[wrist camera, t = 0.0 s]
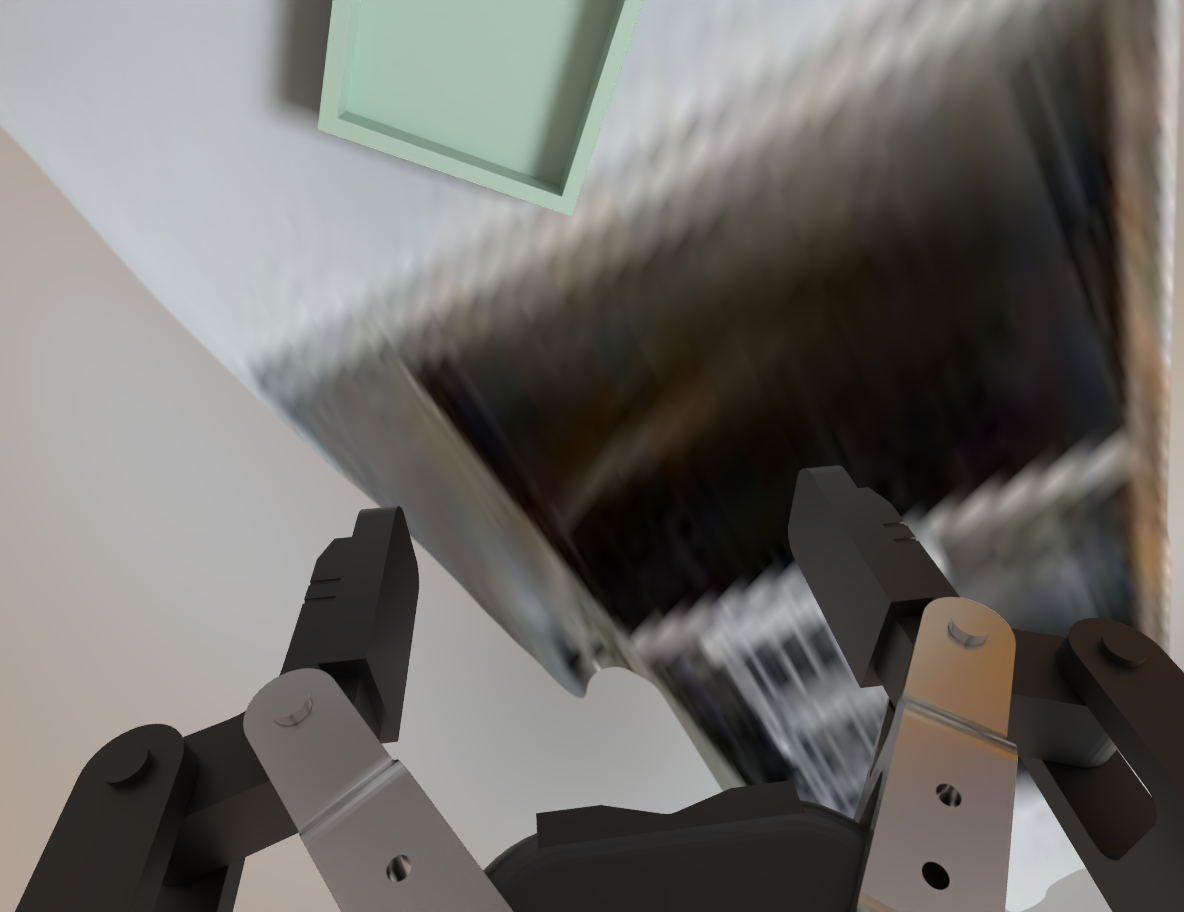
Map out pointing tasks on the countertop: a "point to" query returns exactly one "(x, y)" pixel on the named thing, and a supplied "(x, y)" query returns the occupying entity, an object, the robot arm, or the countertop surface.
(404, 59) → the bin
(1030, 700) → the robot arm
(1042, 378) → the countertop surface
